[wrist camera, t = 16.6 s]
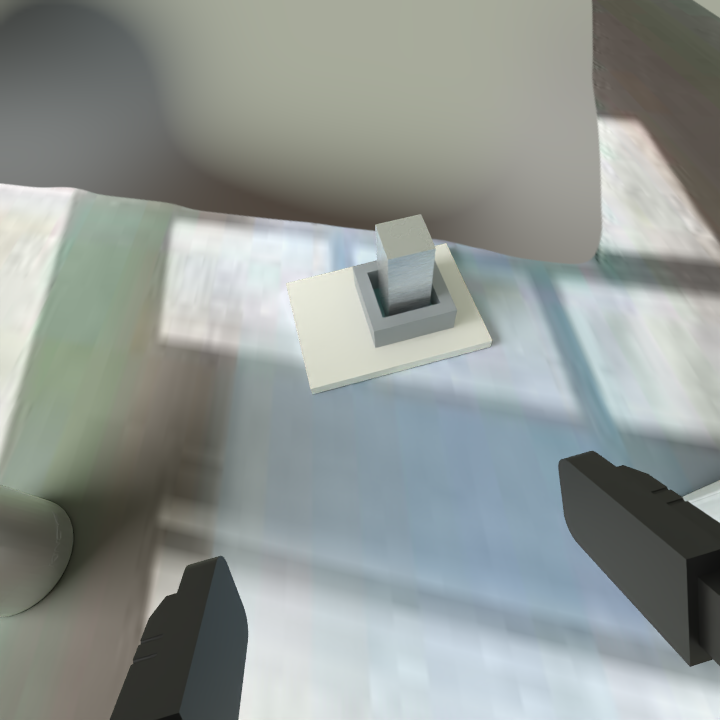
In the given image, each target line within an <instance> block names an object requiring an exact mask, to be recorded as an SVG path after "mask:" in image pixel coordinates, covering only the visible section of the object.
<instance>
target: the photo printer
mask: <svg viewBox="0 0 720 720" xmlns="http://www.w3.org/2000/svg"><path fill="white" fill-rule="evenodd" d="M682 498H683V499H684V501H688V502H690V503H691V504H693V505H694V506H696V507H697V508H699V509H700V510H702V511H703V512H705V513H706V514H708V515H709V516H710V517H712V518H713V519H715V520H716V521H718V522H719V523H720V480H719V481H717V482H714V483H712V484H710V485H708V486H705V487H703V488H701V489H698V490H696V491H694V492H692V493H690V494H688V495H686V496H683V497H682Z"/></svg>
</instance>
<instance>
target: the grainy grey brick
mask: <svg viewBox="0 0 720 720" xmlns="http://www.w3.org/2000/svg"><path fill="white" fill-rule="evenodd" d="M375 228H376V246H377V264H378V283H379V297H380V300H381V303H382V306H383V309H384V312H385V315H386V317H389V316H392V315H396V314H400V313H404V312H408V311H412V310H416V309H419V308H423V307H427V306H430V297H431V288H432V279H433V269H434V260H435V251H436V248H435V246H434V243H433V241H432V239H431V236H430V234H429V232H428V229H427V227H426V225H425V222H424V220H423V218H422V216H421V214H419V215H416V216H411V217H407V218H402V219H398V220H393V221H389V222H385V223H380V224H376V225H375Z"/></svg>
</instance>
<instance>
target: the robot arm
mask: <svg viewBox="0 0 720 720" xmlns="http://www.w3.org/2000/svg"><path fill="white" fill-rule="evenodd" d="M558 468H559V477H560V485H561V493H562V502H563V510H564V517H565V520H566V524H567V526H568V528H569V531H570V533H571V534H572V536H573V538H574V539H575V541H576V542H577V543H578V544H579V545H580V547H581V548H582V549H583V550H584V551H585V552H586V553H587V554H588V555H589V556H590V557H591V559H592V560H593V561H594V562H595V563H596V564H597V565H598V566H599V567H600V568H601V570H602V571H603V572H604V573H605V574H606V575H607V576H608V577H609V578H610V579H611V581H612V582H613V583H614V584H615V585H616V586H617V587H618V588H619V589H620V590H621V591H622V593H623V594H624V595H625V596H626V597H627V598H628V599H629V600H630V601H631V602H632V604H633V605H634V606H635V607H636V608H637V609H638V610H639V611H640V612H641V613H642V614H643V616H644V617H645V618H646V619H647V620H648V621H649V622H650V623H651V624H652V625H653V627H654V628H655V629H656V630H657V631H658V632H659V633H660V634H661V635H662V636H663V638H664V639H665V640H666V641H667V642H668V643H669V644H670V645H671V646H672V647H673V648H674V650H675V651H676V652H677V653H678V654H679V655H680V656H681V657H682V658H683V659H684V661H685V662H686V663H687V664H688V665H689V666H690V667H691V666H694V665H697V664H700V663H703V662H706V661H709V660H712V659H713V660H714V661H715V662H716V663H717V664H718V665H719V666H720V523H719V522H718V521H716V520H715V519H713V518H712V517H710V516H709V515H708V514H706V513H705V512H703V511H702V510H700V509H699V508H697V507H696V506H694V505H693V504H691V503H690V502H688V501H684V499H683V498H682V497H681V496H680V495H678V494H677V493H675V492H674V491H672V490H668V489H667V487H666V486H665V485H663V484H662V483H660V482H659V481H657V480H656V479H654V478H653V477H652V476H650V475H649V474H647V473H644V472H641V471H638V470H635V469H632V468H630V467H627V466H624V465H622V466H618V467H616V466H614V465H613V464H612V463H610V462H609V461H607V460H606V459H605V458H603V457H602V456H600V455H599V454H598V453H596V452H594V451H589V452H585V453H582V454H578V455H575V456H571V457H568V458H564V459H561V460H560V461H559V465H558ZM72 546H73V528H72V524H71V521H70V518H69V517H68V515H67V514H66V512H65V510H63V509H62V508H61V507H60V506H59V505H58V504H55V503H53V502H51V501H49V500H46V499H42V498H39V497H36V496H33V495H30V494H27V493H24V492H21V491H18V490H15V489H12V488H9V487H5V486H2V485H0V617H7V616H11V615H15V614H18V613H20V612H22V611H24V610H26V609H28V608H30V607H32V606H33V605H35V604H36V603H37V602H39V601H40V600H41V599H43V598H44V597H45V596H46V595H47V594H48V593H49V592H50V591H51V590H52V589H53V587H54V586H55V584H56V583H57V582H58V580H59V579H60V578H61V576H62V574H63V572H64V570H65V568H66V566H67V564H68V562H69V559H70V555H71V552H72ZM140 641H141V645H139V646H138V648H137V651H136V653H135V656H134V659H133V664H132V665H131V666H130V669H129V671H128V674H127V677H126V679H125V682H124V684H123V687H122V689H121V692H120V695H119V697H118V700H117V702H116V705H115V708H114V710H113V713H112V715H111V718H110V720H238V717H239V709H240V701H241V692H242V684H243V676H244V668H245V660H246V652H247V643H248V624H247V617H246V613H245V609H244V606H243V604H242V601H241V599H240V596H239V593H238V591H237V588H236V586H235V583H234V580H233V578H232V575H231V572H230V570H229V567H228V565H227V562H226V560H225V559H224V557H222V556H218V557H215V558H211V559H208V560H204V561H201V562H197V563H194V564H190V565H188V566H187V567H186V568H185V571H184V574H183V577H182V580H181V583H180V586H179V589H178V592H177V593H176V594H172V595H169V596H166V597H165V598H164V600H163V601H162V602H161V603H160V605H159V606H158V607H157V609H156V610H155V611H154V613H153V614H152V615H151V616H150V618H149V620H148V622H147V625H146V628H145V630H144V633H143V635H142V638H141V640H140Z"/></svg>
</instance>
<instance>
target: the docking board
mask: <svg viewBox="0 0 720 720" xmlns="http://www.w3.org/2000/svg"><path fill="white" fill-rule="evenodd" d="M435 248H436V251H435V260H434V269H433V279H432V288H431V297H430V306H427V307H423V308H419V309H416V310H412V311H408V312H404V313H400V314H396V315H392V316H389V317H386V315H385V312H384V309H383V306H382V303H381V300H380V297H379V283H378V264H377V261H373V262H369V263H365V264H361V265H357V266H353V267H349V268H345V269H341V270H337V271H333V272H329V273H325V274H321V275H317V276H314V277H310V278H306V279H302V280H298V281H294V282H290V283H286V286H287V290H288V294H289V299H290V303H291V307H292V312H293V316H294V320H295V325H296V329H297V333H298V337H299V342H300V346H301V350H302V355H303V359H304V363H305V368H306V372H307V376H308V381H309V385H310V389H311V392H312V394H316V393H320V392H323V391H327V390H331V389H335V388H338V387H342V386H346V385H350V384H353V383H357V382H361V381H365V380H368V379H372V378H376V377H380V376H383V375H387V374H391V373H395V372H398V371H402V370H406V369H409V368H413V367H417V366H421V365H424V364H428V363H432V362H436V361H439V360H443V359H447V358H451V357H454V356H458V355H462V354H466V353H469V352H473V351H477V350H481V349H484V348H488V347H490V346H491V343H492V339H491V336H490V334H489V332H488V330H487V328H486V326H485V324H484V322H483V320H482V317H481V315H480V313H479V311H478V309H477V307H476V305H475V303H474V301H473V299H472V296H471V294H470V292H469V290H468V288H467V286H466V284H465V282H464V280H463V278H462V275H461V273H460V271H459V269H458V267H457V265H456V263H455V261H454V259H453V257H452V254H451V252H450V250H449V248H448V246H447V244H446V243H445V244H441V245H437V246H435Z"/></svg>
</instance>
